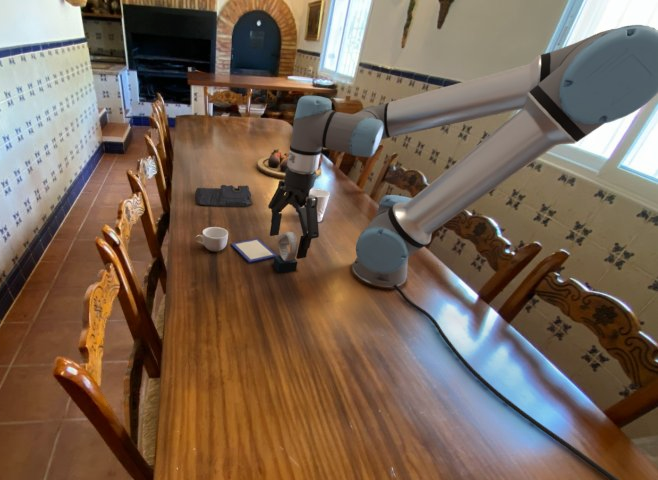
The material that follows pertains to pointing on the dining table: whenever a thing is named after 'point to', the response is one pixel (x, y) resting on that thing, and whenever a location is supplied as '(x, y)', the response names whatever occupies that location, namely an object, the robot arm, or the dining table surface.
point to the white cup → (320, 201)
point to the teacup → (214, 238)
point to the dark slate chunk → (224, 196)
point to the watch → (286, 260)
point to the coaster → (253, 250)
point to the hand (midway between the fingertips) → (286, 245)
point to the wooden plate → (278, 165)
